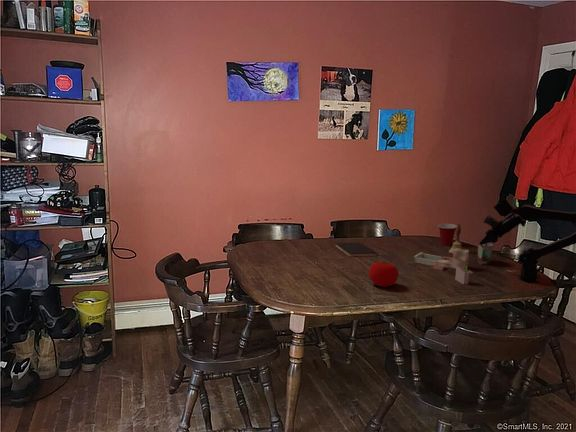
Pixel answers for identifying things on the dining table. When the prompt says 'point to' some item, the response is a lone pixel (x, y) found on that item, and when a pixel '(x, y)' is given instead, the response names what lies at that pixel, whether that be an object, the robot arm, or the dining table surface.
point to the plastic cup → (447, 233)
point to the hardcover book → (356, 249)
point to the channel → (426, 258)
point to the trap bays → (443, 265)
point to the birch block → (456, 259)
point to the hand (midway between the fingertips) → (480, 243)
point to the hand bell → (457, 243)
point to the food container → (484, 253)
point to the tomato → (383, 273)
